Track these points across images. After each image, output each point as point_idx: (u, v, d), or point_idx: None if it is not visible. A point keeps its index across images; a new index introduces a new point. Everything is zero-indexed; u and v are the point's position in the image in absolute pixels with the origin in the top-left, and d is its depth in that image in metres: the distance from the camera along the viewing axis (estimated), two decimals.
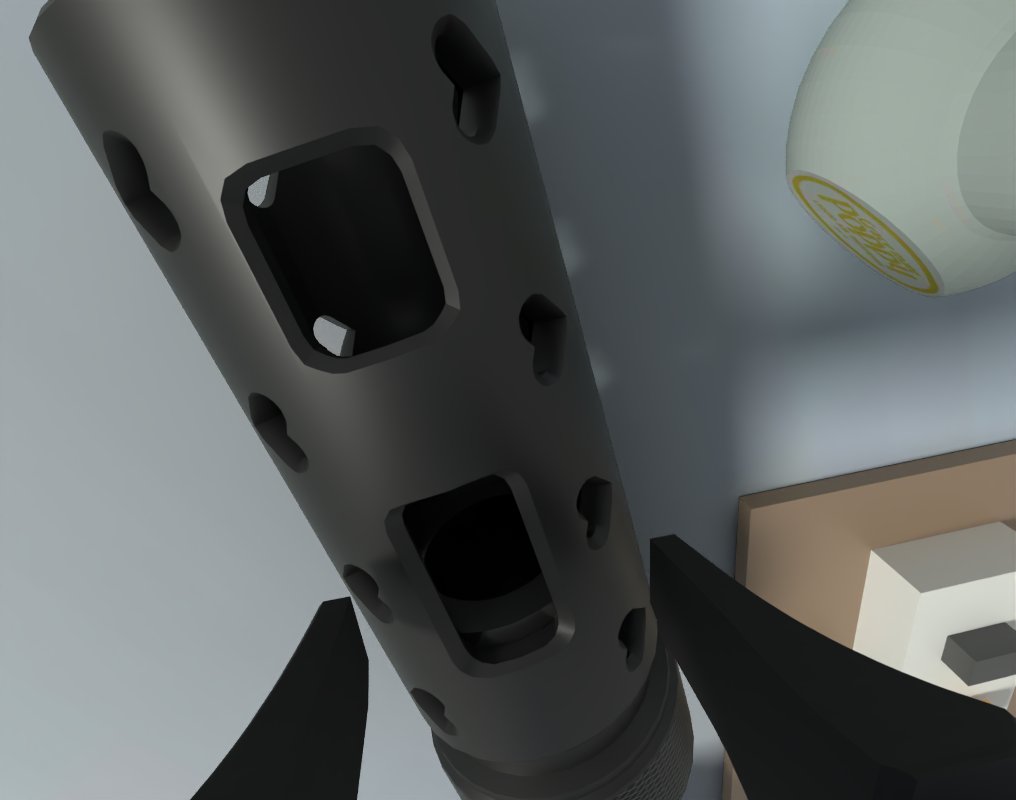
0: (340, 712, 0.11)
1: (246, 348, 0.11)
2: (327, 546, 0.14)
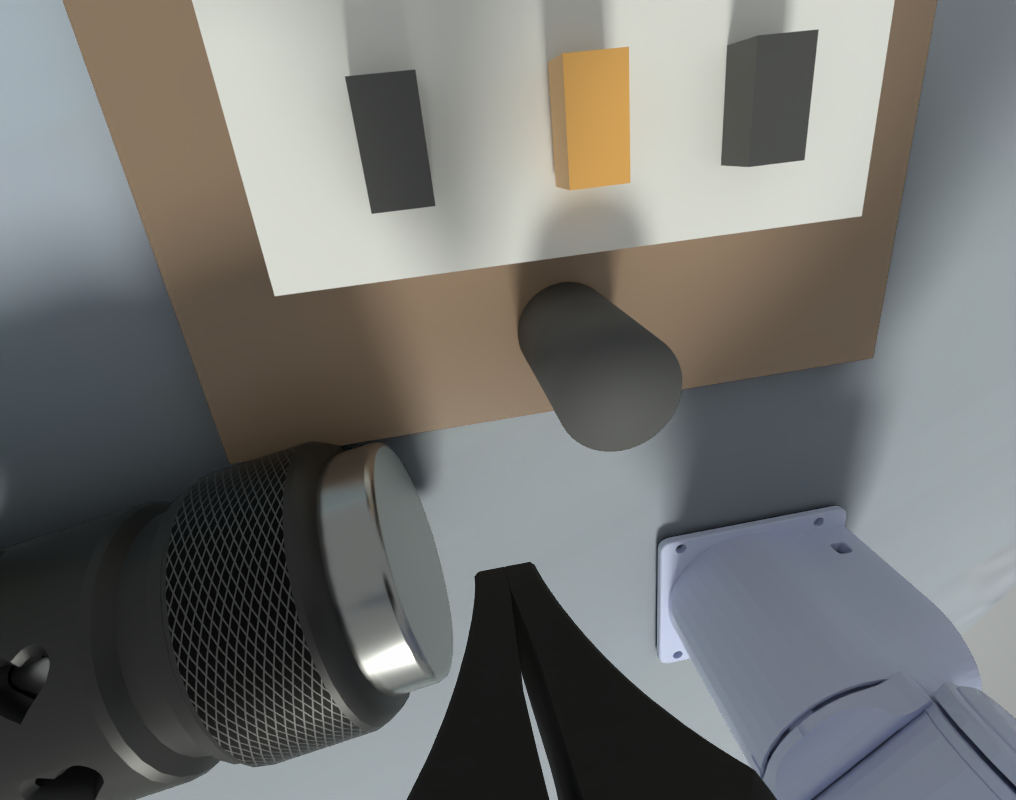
0: None
1: None
2: None
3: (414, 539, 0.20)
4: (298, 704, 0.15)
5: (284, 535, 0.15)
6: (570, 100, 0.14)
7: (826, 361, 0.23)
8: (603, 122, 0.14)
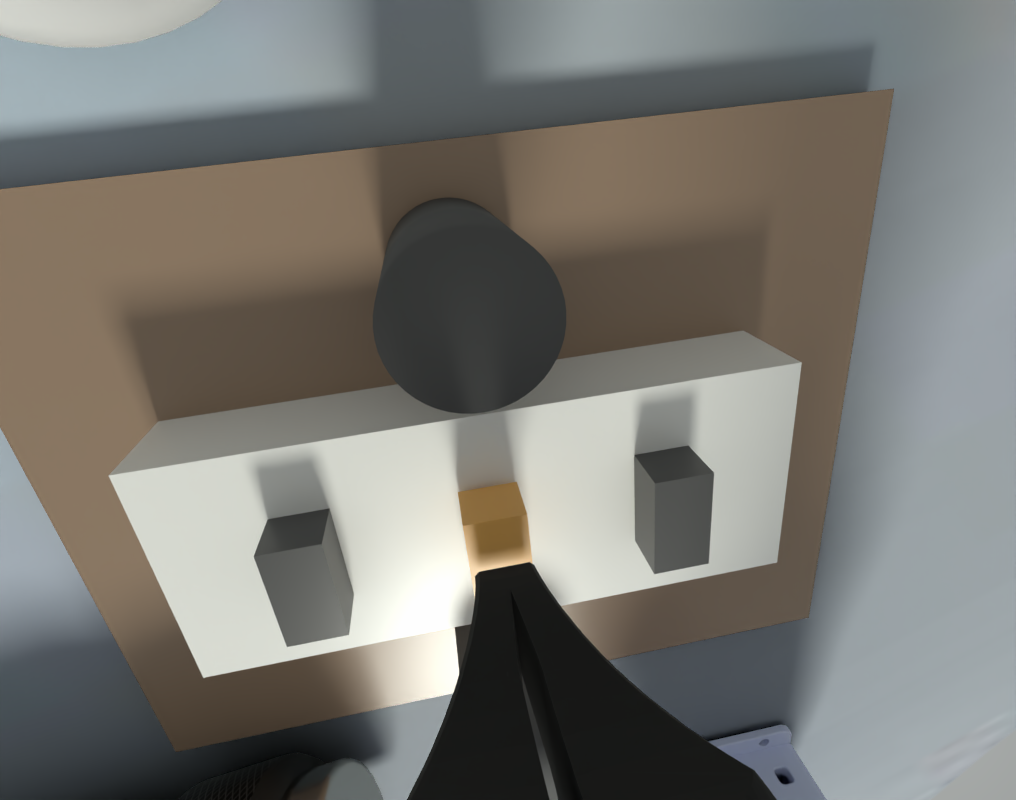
0: (520, 674, 0.11)
1: None
2: None
3: None
4: None
5: None
6: (473, 556, 0.14)
7: (762, 624, 0.24)
8: None
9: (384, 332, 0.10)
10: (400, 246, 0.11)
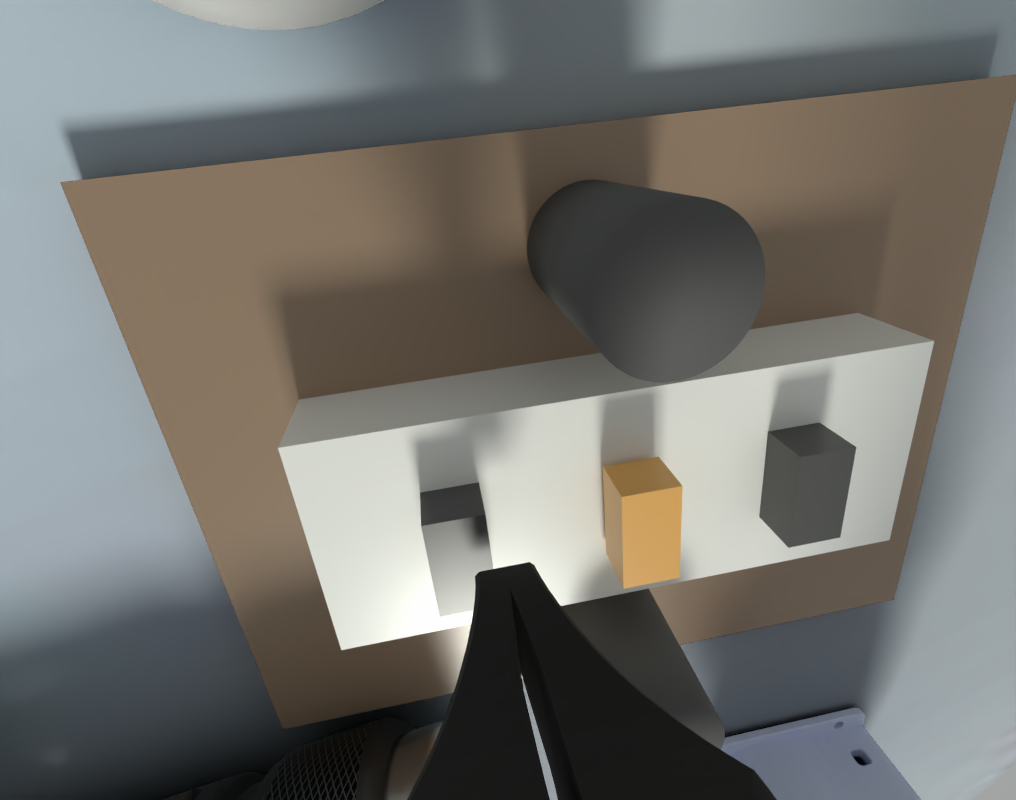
0: (520, 674, 0.11)
1: None
2: None
3: None
4: None
5: None
6: (627, 527, 0.15)
7: (849, 605, 0.24)
8: (656, 539, 0.15)
9: (597, 301, 0.11)
10: (605, 219, 0.11)
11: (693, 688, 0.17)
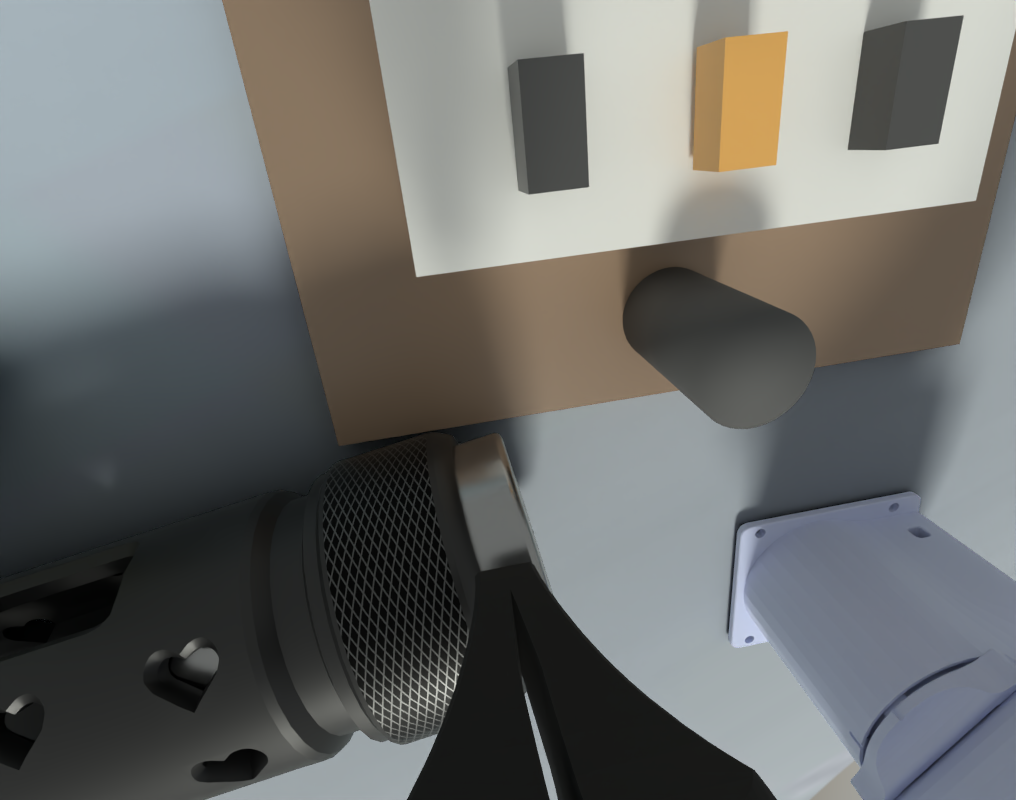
0: (520, 674, 0.11)
1: None
2: None
3: (530, 526, 0.20)
4: None
5: (441, 532, 0.16)
6: (728, 83, 0.14)
7: (914, 347, 0.24)
8: (757, 105, 0.14)
9: None
10: None
11: None
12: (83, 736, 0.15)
